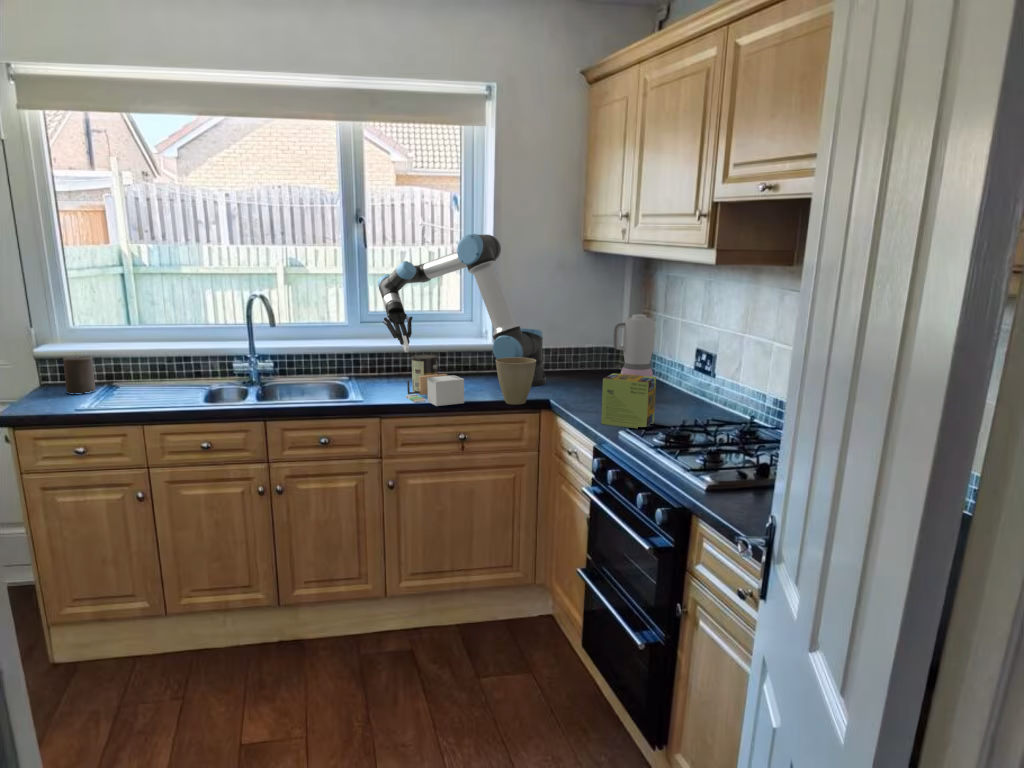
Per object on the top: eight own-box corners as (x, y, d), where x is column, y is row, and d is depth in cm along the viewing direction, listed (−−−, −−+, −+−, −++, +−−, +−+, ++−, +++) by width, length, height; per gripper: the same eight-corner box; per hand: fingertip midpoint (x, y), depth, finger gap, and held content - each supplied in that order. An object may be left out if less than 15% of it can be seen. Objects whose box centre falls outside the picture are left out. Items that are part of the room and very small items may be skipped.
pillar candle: (73, 396, 263) (68, 357, 260) (62, 392, 269) (58, 354, 266) (100, 392, 271) (96, 354, 268) (89, 388, 276) (85, 351, 273)
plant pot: (541, 405, 253) (542, 362, 250) (503, 408, 248) (503, 364, 245) (527, 396, 267) (527, 355, 264) (490, 399, 262) (490, 357, 259)
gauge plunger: (445, 391, 271) (445, 373, 269) (453, 395, 264) (453, 377, 263) (407, 395, 264) (406, 377, 262) (414, 399, 257) (413, 380, 256)
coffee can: (439, 388, 280) (439, 354, 278) (436, 394, 270) (436, 358, 267) (414, 388, 281) (413, 354, 278) (410, 394, 270) (409, 358, 268)
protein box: (647, 429, 221) (649, 382, 218) (600, 424, 227) (602, 377, 224) (654, 422, 230) (657, 376, 227) (610, 417, 237) (611, 372, 234)
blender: (647, 395, 270) (650, 313, 264) (656, 402, 259) (661, 316, 252) (607, 396, 269) (610, 313, 262) (615, 403, 257) (618, 316, 250)
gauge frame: (444, 393, 272) (444, 370, 270) (464, 403, 256) (464, 379, 254) (405, 397, 265) (405, 374, 263) (423, 407, 249) (422, 382, 247)
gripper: (406, 311, 305) (420, 354, 294) (377, 312, 299) (390, 356, 288) (410, 300, 299) (424, 343, 288) (380, 301, 293) (394, 345, 282)
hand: (407, 350), depth 288 cm, fingers closed
